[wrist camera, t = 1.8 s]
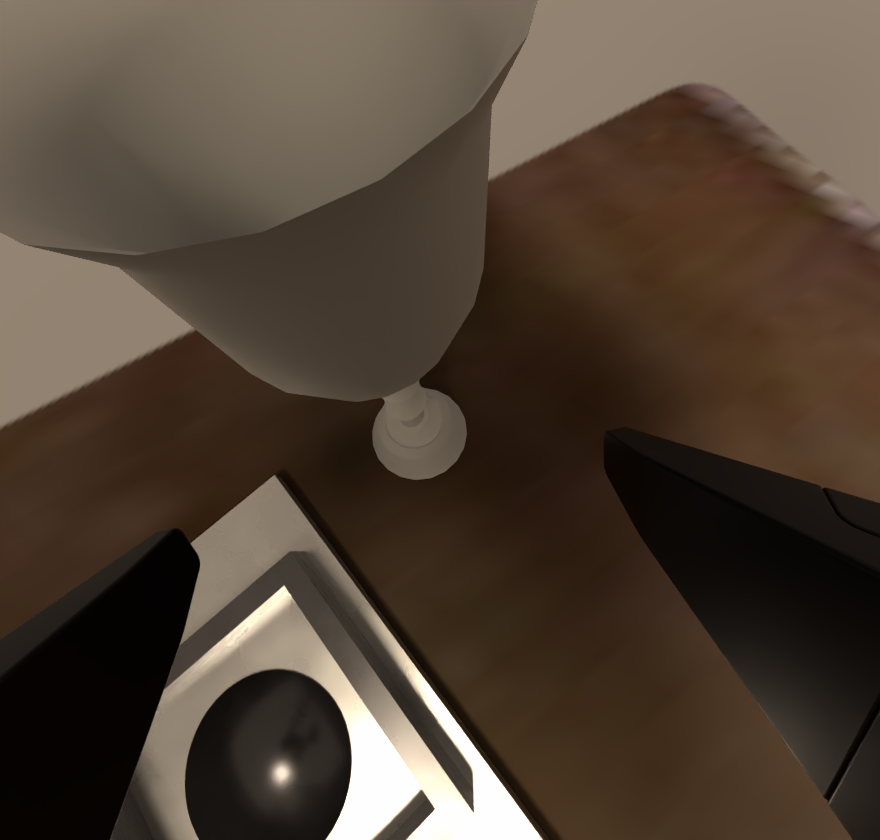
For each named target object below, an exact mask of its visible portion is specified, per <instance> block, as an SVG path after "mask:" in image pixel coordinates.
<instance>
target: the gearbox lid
mask: <svg viewBox="0 0 880 840" xmlns="http://www.w3.org/2000/svg"><path fill="white" fill-rule="evenodd" d="M191 545H192V546H193V548H194V549H195V551H196V552H197V554H198V556H199V559H200V570H199V574H198V578H197V582H196V586H195V590H194V594H193V598H192V602H191V606H190V610H189V614H188V618H187V622H186V626H185V629H184V633H183V637H182V640H181V643H180V646H179V649H178V652H177V655H176V658H175V660H174V663H173V666H172V669H171V672H170V674H169V677H168V680H167V683H166V686H165V688H164V691H163V694H162V697H161V700H160V703H159V705H158V708H157V711H156V714H155V717H154V719H153V722H152V725H151V728H150V731H149V733H148V736H147V739H146V742H145V745H144V747H143V750H142V753H141V756H140V759H139V761H138V764H137V767H136V770H135V773H134V775H133V778H132V781H131V784H130V787H129V789H128V792H127V795H126V798H125V801H124V804H123V806H122V809H121V812H120V815H119V818H118V820H117V823H116V826H115V829H114V832H113V834H112V837H111V840H549V839H548V837H547V836H546V835H545V833H544V832H543V831H542V829H541V828H540V827H539V825H538V824H537V822H536V821H535V820H534V818H533V817H532V816H531V814H530V813H529V812H528V810H527V809H526V808H525V806H524V805H523V804H522V802H521V801H520V799H519V798H518V797H517V795H516V794H515V793H514V791H513V790H512V789H511V787H510V786H509V785H508V783H507V782H506V781H505V779H504V778H503V776H502V775H501V774H500V772H499V771H498V770H497V768H496V767H495V766H494V764H493V763H492V762H491V760H490V759H489V758H488V756H487V755H486V754H485V752H484V751H483V749H482V748H481V747H480V745H479V744H478V743H477V741H476V740H475V739H474V737H473V736H472V735H471V733H470V732H469V731H468V729H467V728H466V726H465V725H464V724H463V722H462V721H461V720H460V718H459V717H458V716H457V714H456V713H455V712H454V710H453V709H452V708H451V706H450V705H449V703H448V702H447V701H446V699H445V698H444V697H443V695H442V694H441V693H440V691H439V690H438V689H437V687H436V686H435V685H434V683H433V682H432V681H431V679H430V678H429V676H428V675H427V674H426V672H425V671H424V670H423V668H422V667H421V666H420V664H419V663H418V662H417V660H416V659H415V658H414V656H413V655H412V653H411V652H410V651H409V649H408V648H407V647H406V645H405V644H404V643H403V641H402V640H401V639H400V637H399V636H398V635H397V633H396V632H395V631H394V629H393V628H392V626H391V625H390V624H389V622H388V621H387V620H386V618H385V617H384V616H383V614H382V613H381V612H380V610H379V609H378V608H377V606H376V605H375V603H374V602H373V601H372V599H371V598H370V597H369V595H368V594H367V593H366V591H365V590H364V589H363V587H362V586H361V585H360V583H359V582H358V580H357V579H356V578H355V576H354V575H353V574H352V572H351V571H350V570H349V568H348V567H347V566H346V564H345V563H344V562H343V560H342V559H341V558H340V556H339V555H338V553H337V552H336V551H335V549H334V548H333V547H332V545H331V544H330V543H329V541H328V540H327V539H326V537H325V536H324V535H323V533H322V532H321V530H320V529H319V528H318V526H317V525H316V524H315V522H314V521H313V520H312V518H311V517H310V516H309V514H308V513H307V512H306V510H305V509H304V507H303V506H302V505H301V503H300V502H299V501H298V499H297V498H296V497H295V495H294V494H293V493H292V491H291V490H290V489H289V487H288V486H287V485H286V483H285V482H284V480H283V479H282V478H281V477H278V476H276V475H274V476H273V477H271V478H270V479H269V480H268V481H267V482H265V483H264V484H263V485H262V486H260V487H259V488H258V489H257V490H256V491H254V492H253V493H252V494H251V495H249V496H248V497H247V498H246V499H244V500H243V501H242V502H241V503H240V504H238V505H237V506H236V507H235V508H233V509H232V510H231V511H230V512H228V513H227V514H226V515H225V516H224V517H222V518H221V519H220V520H219V521H217V522H216V523H215V524H214V525H213V526H211V527H210V528H209V529H208V530H206V531H205V532H204V533H203V534H201V535H200V536H199V537H198V538H197V539H195V540H194V541H193V542H192V543H191Z"/></svg>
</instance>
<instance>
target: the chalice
mask: <svg viewBox="0 0 880 840" xmlns="http://www.w3.org/2000/svg"><path fill="white" fill-rule="evenodd" d="M536 4H537V0H0V232H1V233H3V234H5V235H7V236H9V237H11V238H13V239H14V240H16V241H18V242H20V243H22V244H24V245H28V246H32V247H36V248H41V249H45V250H49V251H53V252H57V253H61V254H65V255H70V256H74V257H78V258H82V259H86V260H91V261H95V262H99V263H103V264H108V265H112V266H116V267H119V268H120V269H122V270H123V271H124V272H125V273H126V274H128V275H129V276H130V277H131V278H133V279H134V280H135V281H136V282H138V283H139V284H140V285H141V286H143V287H144V288H145V289H146V290H148V291H149V292H150V293H151V294H153V295H154V296H155V297H156V298H158V299H159V300H160V301H161V302H162V303H164V304H165V305H166V306H167V307H169V308H170V309H171V310H172V311H174V312H175V313H176V314H177V315H179V316H180V317H181V318H182V319H184V320H185V321H186V322H187V323H189V324H190V325H191V326H192V327H194V328H195V329H196V330H197V331H198V332H200V333H201V334H202V335H203V336H205V337H206V338H207V339H208V340H210V341H211V342H212V343H213V344H215V345H216V346H217V347H218V348H220V349H221V350H222V351H223V352H225V353H226V354H227V355H228V356H230V357H231V358H232V359H233V360H234V361H236V362H237V363H238V364H239V365H241V366H242V367H243V368H244V369H246V370H247V371H248V372H249V373H251V374H252V375H254V376H256V377H258V378H260V379H262V380H264V381H265V382H267V383H269V384H271V385H273V386H275V387H277V388H279V389H280V390H282V391H284V392H286V393H293V394H300V395H308V396H315V397H322V398H330V399H337V400H345V401H353V402H360V401H366V400H371V399H377V398H383V400H385V405H384V406H383V407H382V409H381V410H380V412H379V413H378V415H377V417H376V419H375V423H374V427H373V430H372V436H373V447H374V449H375V452H376V454H377V457H378V459H379V460H380V461H381V462H382V463H383V465H384V466H385V467H386V468H387V469H388V470H389V471H391V472H393V473H395V474H396V475H398V476H400V477H403V478H408V479H413V480H420V479H428V478H432V477H435V476H437V475H439V474H441V473H443V472H445V471H446V470H447V469H449V468H450V467H451V466H452V465H453V464H454V463H455V462H456V461H457V460H458V458H459V456H460V454H461V453H462V451H463V449H464V446H465V441H466V436H467V430H466V422H465V418H464V416H463V414H462V412H461V410H460V408H459V406H458V405H457V404H456V403H455V402H454V401H453V400H452V399H451V398H450V397H449V396H447V395H445V394H443V393H441V392H439V391H437V390H432V389H426V388H422V387H421V386H420V385H419V379H420V378H422V377H423V376H424V375H425V374H426V373H427V372H428V371H429V370H431V369H432V368H433V367H434V366H435V365H436V364H437V363H438V362H439V360H440V359H441V357H442V356H443V354H444V352H445V351H446V349H447V348H448V346H449V344H450V343H451V341H452V340H453V338H454V337H455V335H456V333H457V332H458V330H459V329H460V327H461V325H462V324H463V322H464V321H465V319H466V317H467V316H468V314H469V313H470V311H471V309H472V308H473V306H474V304H475V300H476V296H477V292H478V288H479V284H480V280H481V276H482V272H483V269H484V250H485V230H486V210H487V189H488V169H489V148H490V128H491V109H492V103H493V101H494V100H495V98H496V96H497V94H498V92H499V90H500V88H501V86H502V84H503V82H504V80H505V78H506V76H507V74H508V72H509V71H510V69H511V67H512V65H513V63H514V61H515V59H516V57H517V55H518V53H519V51H520V49H521V48H522V46H523V44H524V42H525V40H526V38H527V36H528V33H529V30H530V26H531V22H532V18H533V15H534V11H535V8H536Z"/></svg>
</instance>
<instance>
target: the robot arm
mask: <svg viewBox="0 0 880 840" xmlns="http://www.w3.org/2000/svg"><path fill="white" fill-rule="evenodd" d="M604 467H605V471H606V474H607V476H608V478H609V480H610V482H611V484H612V486H613V487H614V489H615V491H616V493H617V495H618V497H619V498H620V500H621V502H622V504H623V506H624V508H625V510H626V511H627V513H628V515H629V517H630V519H631V521H632V522H633V524H634V526H635V528H636V529H637V531H638V533H639V535H640V536H641V538H642V539H643V541H644V542H645V544H646V545H647V547H648V548H649V550H650V551H651V552H652V554H653V555H654V557H655V558H656V560H657V561H658V562H659V564H660V565H661V567H662V568H663V569H664V571H665V572H666V574H667V575H668V577H669V578H670V579H671V581H672V582H673V584H674V585H675V587H676V588H677V589H678V591H679V592H680V594H681V595H682V597H683V598H684V599H685V601H686V602H687V604H688V605H689V606H690V608H691V609H692V611H693V612H694V614H695V615H696V616H697V618H698V619H699V621H700V622H701V624H702V625H703V626H704V628H705V629H706V631H707V632H708V633H709V635H710V636H711V638H712V639H713V641H714V642H715V643H716V645H717V646H718V648H719V649H720V651H721V652H722V653H723V655H724V656H725V658H726V659H727V661H728V662H729V663H730V665H731V666H732V668H733V669H734V670H735V672H736V673H737V675H738V676H739V678H740V679H741V680H742V682H743V683H744V685H745V686H746V688H747V689H748V690H749V692H750V693H751V695H752V696H753V698H754V699H755V700H756V702H757V703H758V705H759V706H760V707H761V709H762V710H763V712H764V713H765V715H766V716H767V717H768V719H769V720H770V722H771V723H772V725H773V726H774V727H775V729H776V730H777V732H778V733H779V735H780V736H781V737H782V739H783V740H784V742H785V743H786V744H787V746H788V747H789V749H790V750H791V752H792V753H793V754H794V756H795V757H796V759H797V760H798V762H799V763H800V764H801V766H802V767H803V769H804V770H805V772H806V773H807V774H808V776H809V777H810V779H811V780H812V781H813V783H814V784H815V786H816V787H817V789H818V790H819V791H820V793H821V794H822V796H823V797H824V798H825V799H827V800H828V805H829V806H830V808H831V809H832V811H833V812H834V813H835V815H836V816H837V818H838V819H839V821H840V822H841V823H842V825H843V826H844V828H845V829H846V830H847V832H848V833H849V835H850V836H851V838H852V839H853V840H880V503H878V502H874V501H871V500H867V499H864V498H860V497H857V496H853V495H850V494H847V493H843V492H840V491H837V490H833V489H830V488H823V489H822V487H821V486H819V485H816V484H813V483H810V482H806V481H803V480H800V479H796V478H793V477H790V476H786V475H783V474H780V473H776V472H773V471H770V470H766V469H763V468H760V467H756V466H753V465H750V464H746V463H743V462H740V461H736V460H733V459H730V458H726V457H723V456H720V455H716V454H713V453H710V452H706V451H703V450H700V449H696V448H693V447H690V446H686V445H683V444H680V443H676V442H673V441H670V440H666V439H663V438H660V437H656V436H653V435H650V434H646V433H643V432H640V431H636V430H633V429H630V428H626V427H624V428H619V429H614V430H610V431H607V432H606V433H605V435H604ZM199 570H200V559H199V556H198V554H197V552H196V551H195V549H194V548H193V546H192V545H191V543H190V542H189V540H188V538H187V537H186V535H185V534H184V533H183V531H181V530H180V529H176V528H174V529H169V530H165V531H160V532H157V533H155V534H153V535H152V536H150V537H149V538H147V539H146V540H144V541H143V542H141V543H140V544H139V545H137V546H136V547H134V548H133V549H131V550H130V551H128V552H127V553H125V554H124V555H123V556H121V557H120V558H118V559H117V560H115V561H114V562H112V563H111V564H109V565H108V566H107V567H105V568H104V569H102V570H101V571H99V572H98V573H96V574H95V575H93V576H92V577H90V578H89V579H88V580H86V581H85V582H83V583H82V584H80V585H79V586H77V587H76V588H74V589H73V590H72V591H70V592H69V593H67V594H66V595H64V596H63V597H61V598H60V599H58V600H57V601H56V602H54V603H53V604H51V605H50V606H48V607H47V608H45V609H44V610H42V611H41V612H39V613H38V614H37V615H35V616H34V617H32V618H31V619H29V620H28V621H26V622H25V623H23V624H22V625H21V626H19V627H18V628H16V629H15V630H13V631H12V632H10V633H9V634H7V635H6V636H4V637H3V638H2V639H0V840H111V837H112V834H113V832H114V829H115V826H116V823H117V820H118V818H119V815H120V812H121V809H122V806H123V804H124V801H125V798H126V795H127V792H128V789H129V787H130V784H131V781H132V778H133V775H134V773H135V770H136V767H137V764H138V761H139V759H140V756H141V753H142V750H143V747H144V745H145V742H146V739H147V736H148V733H149V731H150V728H151V725H152V722H153V719H154V717H155V714H156V711H157V708H158V705H159V703H160V700H161V697H162V694H163V691H164V688H165V686H166V683H167V680H168V677H169V674H170V672H171V669H172V666H173V663H174V660H175V658H176V655H177V652H178V649H179V646H180V643H181V640H182V637H183V633H184V629H185V626H186V622H187V618H188V614H189V610H190V606H191V602H192V598H193V594H194V590H195V586H196V582H197V578H198V574H199Z"/></svg>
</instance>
